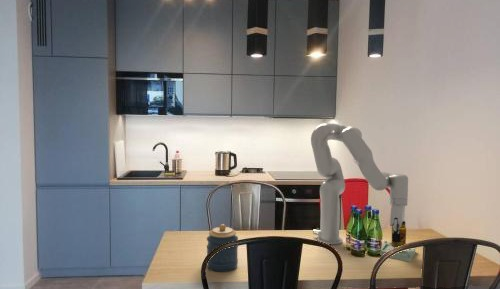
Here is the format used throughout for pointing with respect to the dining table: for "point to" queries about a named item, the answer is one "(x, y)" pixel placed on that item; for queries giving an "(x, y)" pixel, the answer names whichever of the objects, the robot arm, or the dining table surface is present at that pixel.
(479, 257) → the dining table surface
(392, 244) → the condiment
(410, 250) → the socket plate
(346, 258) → the dining table surface
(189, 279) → the dining table surface
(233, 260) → the canister
